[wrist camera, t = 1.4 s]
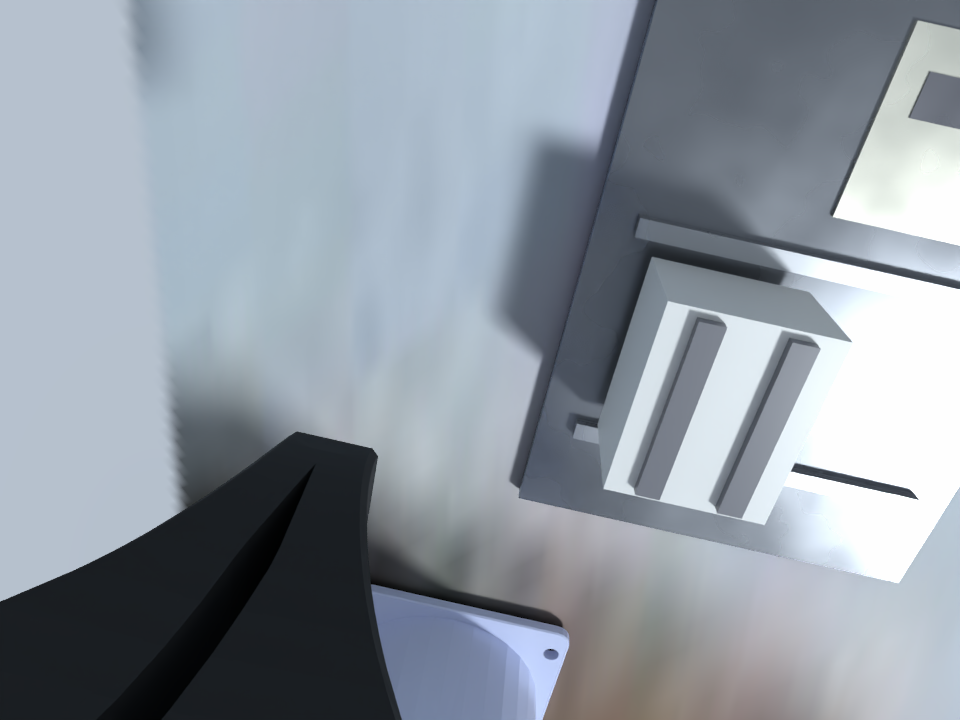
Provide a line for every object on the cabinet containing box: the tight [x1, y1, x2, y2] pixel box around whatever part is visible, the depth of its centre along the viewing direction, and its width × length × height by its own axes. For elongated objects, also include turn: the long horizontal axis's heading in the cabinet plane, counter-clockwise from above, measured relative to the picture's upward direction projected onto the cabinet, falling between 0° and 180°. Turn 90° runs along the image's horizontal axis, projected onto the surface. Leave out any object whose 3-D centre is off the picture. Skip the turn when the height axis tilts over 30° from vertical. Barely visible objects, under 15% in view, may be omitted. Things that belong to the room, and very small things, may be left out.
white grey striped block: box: [598, 257, 853, 525], centre depth 18 cm, size 5×4×3 cm
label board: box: [519, 0, 960, 583], centre depth 19 cm, size 16×12×1 cm
